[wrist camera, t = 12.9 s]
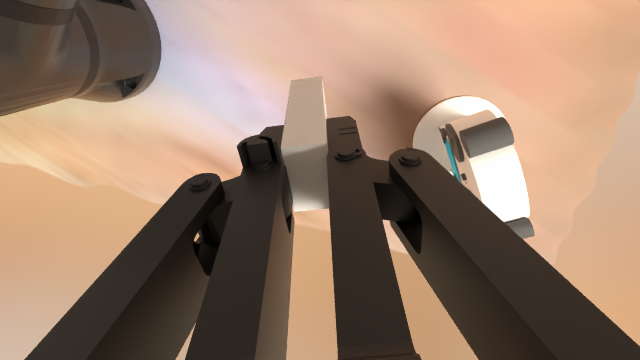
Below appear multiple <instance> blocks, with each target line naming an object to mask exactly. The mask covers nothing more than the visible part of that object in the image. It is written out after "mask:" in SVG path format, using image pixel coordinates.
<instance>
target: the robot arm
mask: <svg viewBox="0 0 640 360" xmlns="http://www.w3.org/2000/svg"><path fill="white" fill-rule="evenodd" d="M160 60H161V41H160V35H159V31H158V27H157V24H156V21H155V19H154V17H153V14H152V12H151V10H150V9H149V7H148V5H147V4H146V2H145V1H144V0H0V116H4V115H8V114H11V113H15V112H19V111H22V110H26V109H30V108H33V107H37V106H41V105H45V104H48V103H52V102H56V101H59V100H63V99H67V98H77V99H83V100H90V101H96V102H116V101H121V100H124V99H128V98H131V97H134V96H136V95H138V94H140V93H141V92H143V91H144V90H145V89H146V88H147V87H148V86H149V85H150V84H151V83H152V81H153V80H154V78H155V76H156V74H157V71H158V69H159V65H160ZM237 149H238V152H239V155H240V159H241V162H242V165H243V169H242V173H241V175H240V176H238V177H236V178H233V179H230V180H227V181H223V182H221V179H220V177H219V176H218V175H217V174H213V173H202V174H199V175H195V176H193V177H192V178H190V179H188V180H187V181H185V182H184V183H183V184H182V185H181V186H180V187H179V188H178V189H177V191H176V192H175V193H174V194H173V195H172V196H171V197H170V198H169V199H168V201H167V202H166V203H165V204H164V205H163V206H162V207H161V208H160V210H159V211H158V212H157V213H156V214H155V215H154V216H153V217H152V218H151V219H150V221H149V222H148V223H147V224H146V225H145V226H144V227H143V228H142V230H141V231H140V232H139V233H138V234H137V235H136V236H135V237H134V238H133V239H132V241H131V242H130V243H129V244H128V245H127V246H126V247H125V248H124V249H123V251H122V252H121V253H120V254H119V255H118V256H117V257H116V258H115V260H114V261H113V262H112V263H111V264H110V265H109V266H108V267H107V269H105V271H104V272H103V273H102V274H101V275H100V276H99V277H98V278H97V279H96V281H95V282H94V283H93V284H92V285H91V286H90V287H89V288H88V289H87V291H86V292H85V293H84V294H83V295H82V296H81V297H80V298H79V299H78V301H77V302H76V303H75V304H74V305H73V306H72V307H71V309H69V311H68V312H67V313H66V314H65V315H64V316H63V317H62V318H61V319H60V321H59V322H58V323H57V324H56V325H55V326H54V327H53V328H52V329H51V331H50V332H49V333H48V334H47V335H46V336H45V337H44V338H43V339H42V341H41V342H40V343H39V344H38V345H37V347H35V348H34V349H33V351H32V352H31V353H30V354H29V355H28V356H27V357H26V358H25V359H24V360H175V359H176V357H177V356H178V354H179V352H180V350H181V348H182V347H183V345H184V343H185V341H186V339H187V338H188V336H189V334H190V332H191V330H192V329H193V326H194V325H195V323H196V325H195V328H194V331H193V335H192V338H191V341H190V344H189V348H188V351H187V354H186V358H185V360H286V350H287V334H288V318H289V301H290V284H291V268H292V252H293V236H294V217H293V213H292V204H293V207H294V211H295V212H299V211H308V210H317V209H326V208H329V210H330V227H331V244H332V261H333V277H334V294H335V312H336V330H337V347H338V360H421V357H420V355H419V354H417V353H416V352H415V349H414V346H413V343H412V339H411V335H410V331H409V327H408V323H407V318H406V314H405V310H404V306H403V302H402V298H401V294H400V290H399V286H398V282H397V278H396V274H395V270H394V266H393V262H392V258H391V253H390V249H389V245H388V241H387V237H386V233H385V229H384V225H383V221H382V220H390V224H391V227H392V228H393V230H394V231H395V233H396V234H397V236H398V237H399V239H400V241H401V242H402V244H403V245H404V247H405V248H406V250H407V251H408V253H409V254H410V256H411V257H412V259H413V260H414V262H415V263H416V265H417V266H418V268H419V269H420V271H421V272H422V274H423V276H424V277H425V278H426V280H427V282H428V283H429V285H430V286H431V288H432V289H433V291H434V292H435V294H436V295H437V297H438V298H439V300H440V301H441V303H442V304H443V306H444V307H445V309H446V310H447V312H448V314H449V315H450V317H451V318H452V320H453V321H454V323H455V324H456V326H457V327H458V329H459V330H460V332H461V333H462V334H463V336H464V338H465V339H466V341H467V343H468V344H469V346H470V347H471V348H472V350H473V351H474V353H475V355H476V356H477V358H478V359H479V360H640V346H639V345H637V344H636V343H635V342H634V341H633V340H632V339H631V338H630V337H629V336H627V334H626V333H624V332H623V331H622V330H621V329H620V328H619V327H618V326H617V325H616V324H615V323H613V322H612V321H611V320H610V319H609V318H608V317H607V316H606V315H605V314H604V313H603V312H601V311H600V310H599V309H598V308H597V307H596V306H595V305H594V304H593V303H592V302H591V301H590V300H588V299H587V298H586V297H585V296H584V295H583V294H582V293H581V292H580V291H579V290H578V289H576V288H575V287H574V286H573V285H572V284H571V283H570V282H569V281H568V280H567V279H565V278H564V277H563V276H562V275H561V274H560V273H559V272H558V271H557V270H556V269H555V268H553V267H552V266H551V265H550V264H549V263H548V262H547V261H546V260H545V259H544V258H543V257H541V256H540V255H539V254H538V253H537V252H536V251H535V250H534V249H533V248H532V247H531V246H529V245H528V244H527V243H526V242H525V241H524V240H523V239H522V238H521V237H520V236H519V235H517V234H516V233H515V232H514V231H513V230H512V229H511V228H510V227H509V226H508V225H506V224H505V223H504V222H503V221H502V220H501V219H500V218H499V217H498V216H497V215H496V214H494V213H493V212H492V211H491V210H490V209H489V208H488V207H487V206H486V205H485V204H484V203H482V202H481V201H480V200H479V199H478V198H477V197H476V196H475V195H474V194H473V193H472V192H470V191H469V190H468V189H467V188H466V187H465V186H464V185H463V184H462V183H461V182H460V181H458V180H457V179H456V178H455V177H454V176H453V175H452V174H451V173H450V172H449V171H448V170H446V169H445V168H444V167H443V166H442V165H441V164H440V163H439V162H438V161H437V160H435V159H434V158H433V157H432V156H431V155H430V154H429V153H427V152H425V151H423V150H419V149H415V148H407V149H401V150H398V151H396V152H394V153H393V154H391V155H390V158H389V161H384V160H376V159H373V158H370V157H368V156H367V155H366V152H365V151H364V149H362V145H361V141H360V137H359V133H358V129H357V125H356V121H355V120H354V119H353V118H351V117H350V116H346V117H338V118H329V119H327V113H326V105H325V97H324V89H323V81H322V77H315V78H308V79H300V80H292V81H291V85H290V91H289V97H288V104H287V110H286V117H285V123H284V125H280V126H272V127H266V128H265V129H264V130H263V131H262V132H261V133H260V135H255V136H251V137H248V138H246V139H244V140H243V141H241V142H240V143H239V144H238V145H237ZM197 233H199V236H200V237H199V238H198V239H197V241H196V242H194V238H195V236H196V234H197Z"/></svg>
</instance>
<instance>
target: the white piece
mask: <svg viewBox="0 0 640 360" xmlns="http://www.w3.org/2000/svg"><path fill="white" fill-rule="evenodd" d="M513 143H514V137H513V133H512V130H511V128H510V126H509V124H508V122H507V121H506V119H505V118H504V116H503V114H502V113H501V112H500V110H499V109H498V108H497V107H495V106H494V105H493V104H491V103H490V102H488V101H486V100H484V99H481V98H478V97H472V96H460V97H454V98H450V99H447V100H445V101H443V102H441V103H439V104H437V105H436V106H434V107H433V108H431V109H430V110H429V111H428V112H427V113H426V114H425V115H424V116H423V118H422V119H421V120H420V122H419V123H418V125H417V127H416V130H415V133H414V136H413V148H415V149H419V150H423V151H425V152H427V153H429V154H430V155H431V156H432V157H433V158H434V159H435V160H437V161H438V162H439V163H440V164H441V165H442V166H443V167H444V168H445V169H446V170H448V171H449V172H450V173H451V174H452V175H453V176H454V177H455V178H456V179H457V180H458V181H460V182H461V183H462V184H463V185H464V186H465V187H466V188H467V189H468V190H469V191H470V192H472V193H473V194H474V195H475V196H476V197H477V198H478V199H479V200H480V201H481V202H482V203H484V204H485V205H486V206H487V207H488V208H489V209H490V210H491V211H492V212H493V213H494V214H496V215H497V216H498V217H499V218H500V219H501V220H502V221H503V222H504V223H505V224H506V225H508V226H509V227H510V228H511V229H512V230H513V231H514V232H515V233H516V234H517V235H519V236H520V237H521V238H522V239H524V238H528V237H532V236H534V230H533V226H532V224H531V222H530V220H529V219H528V217H529V201H528V195H527V189H526V184H525V180H524V176H523V172H522V169H521V165H520V162H519V159H518V156H517V153H516V151H515V148H514V146H513Z"/></svg>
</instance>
